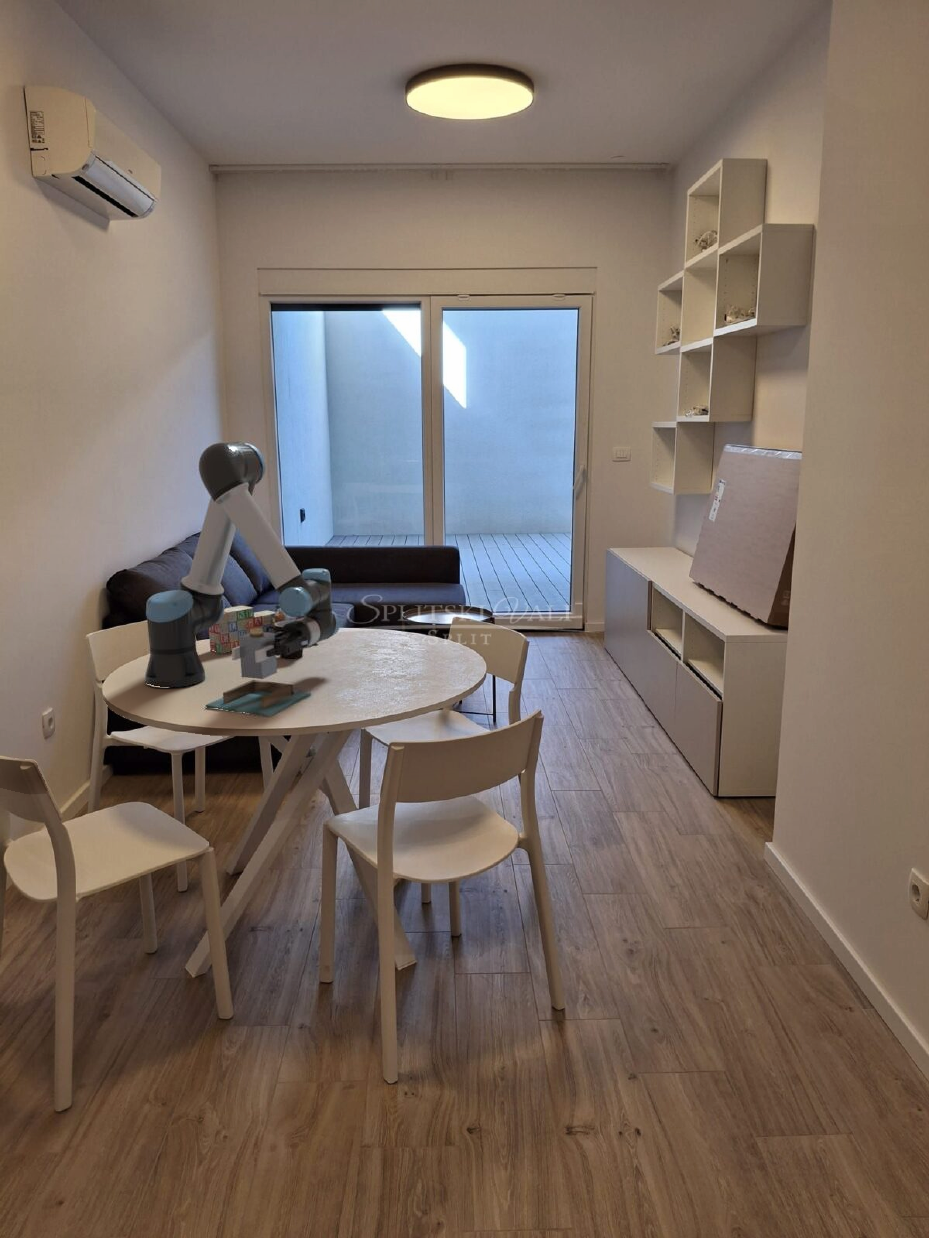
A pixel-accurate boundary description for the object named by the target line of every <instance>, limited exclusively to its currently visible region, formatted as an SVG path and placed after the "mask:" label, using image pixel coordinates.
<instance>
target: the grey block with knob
mask: <svg viewBox="0 0 929 1238" xmlns="http://www.w3.org/2000/svg"><path fill="white" fill-rule="evenodd" d="M270 645H274V648H275V635H274V633H269V632H263V629H260V628H257V629H251V630H250V633H248V634H245V635H242V636H239V646H240V659H239V660H240V668H241V669H240V670H241V672H240V673H241V677H242V678H247V679H248V678H249V679H250V678H251V679H256V680H263V679H265V678H268V677H270V676H273V675H275V674H277V673H278V667H277V656H276V655H274V656H273V657H271V658H268V659H266V660H264V661H261V662H259V663H257V662H256V660H255V651H257V650H260V649H262V648H265V647H267V646H270Z"/></svg>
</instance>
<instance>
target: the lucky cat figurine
mask: <svg viewBox="0 0 929 1238" xmlns="http://www.w3.org/2000/svg"><path fill="white" fill-rule="evenodd" d="M274 612H275V616H274V618H273V624H274V627H275V623H277V622H281V621H291V620H298V619H301V618H304V617H305V616H304V615H300V616H297V617H291V616H288V615H286V614H285V613H284V612H283V611H282V610H281V608H280V606H279V604H277V605H275V611H274ZM313 645H315V644H312V645H311V646H313Z"/></svg>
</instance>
